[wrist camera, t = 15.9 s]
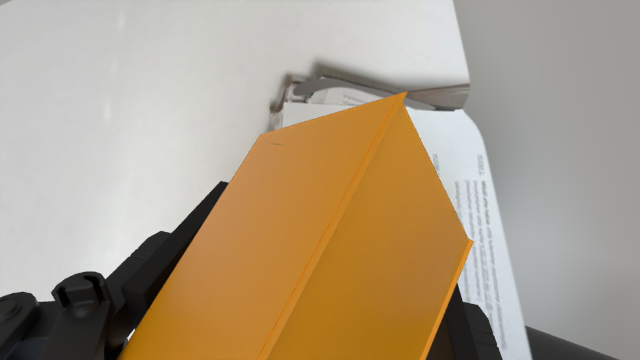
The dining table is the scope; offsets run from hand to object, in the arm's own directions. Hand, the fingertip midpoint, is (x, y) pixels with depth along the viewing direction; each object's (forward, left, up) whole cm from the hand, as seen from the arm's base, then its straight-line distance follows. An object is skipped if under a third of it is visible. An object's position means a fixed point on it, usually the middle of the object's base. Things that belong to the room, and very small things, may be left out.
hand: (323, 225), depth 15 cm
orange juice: (-1, +3, -9) cm, 10 cm away
